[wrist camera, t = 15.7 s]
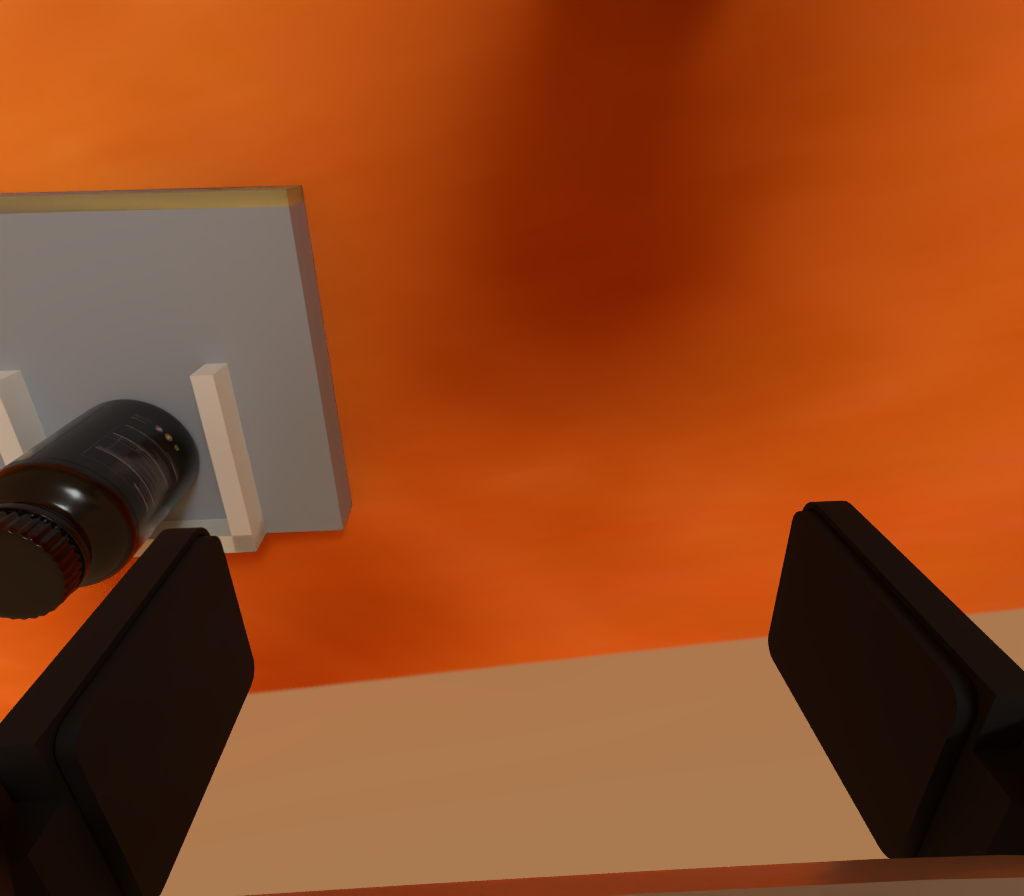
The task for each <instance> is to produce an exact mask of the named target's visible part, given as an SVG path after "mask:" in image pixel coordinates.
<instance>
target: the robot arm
mask: <svg viewBox="0 0 1024 896" xmlns="http://www.w3.org/2000/svg"><path fill="white" fill-rule="evenodd" d="M768 644H769V650H770V654H771V657H772V659H773V661H774V663H775V664H776V666H777V668H778V670H779V672H780V673H781V675H782V677H783V678H784V680H785V682H786V684H787V686H788V687H789V689H790V691H791V693H792V694H793V696H794V698H795V700H796V702H797V703H798V705H799V707H800V709H801V710H802V712H803V713H804V716H805V717H806V719H807V721H808V723H809V724H810V726H811V728H812V730H813V731H814V733H815V735H816V737H817V739H818V740H819V742H820V744H821V746H822V747H823V749H824V751H825V753H826V754H827V756H828V758H829V760H830V761H831V763H832V765H833V767H834V769H835V770H836V772H837V774H838V776H839V777H840V779H841V781H842V783H843V784H844V786H845V788H846V790H847V791H848V793H849V795H850V797H851V798H852V800H853V802H854V804H855V806H856V807H857V809H858V811H859V812H860V814H861V816H862V818H863V820H864V821H865V823H866V825H867V827H868V828H869V830H870V832H871V834H872V836H873V837H874V839H875V840H876V843H877V844H878V846H879V848H880V849H881V850H882V852H883V853H884V854H885V855H886V856H887V857H888V858H890V859H871V860H851V861H832V862H831V861H830V862H811V863H792V864H776V865H775V864H773V865H754V866H735V867H716V868H698V869H697V868H696V869H678V870H659V871H642V872H624V873H608V874H590V875H573V876H555V877H538V878H520V879H504V880H487V881H469V882H452V883H435V884H419V885H403V886H387V887H373V888H356V889H340V890H324V891H309V892H293V893H279V894H278V893H277V894H262V895H246V896H1024V671H1023V670H1022V669H1021V668H1020V667H1019V666H1018V665H1017V664H1016V663H1015V662H1014V661H1013V660H1012V659H1011V658H1010V657H1009V656H1008V655H1007V654H1006V653H1004V652H1003V651H1002V650H1001V649H1000V648H999V647H998V646H997V645H996V644H995V643H994V642H993V641H992V640H991V639H990V638H989V637H988V636H987V635H986V634H985V633H984V632H983V631H982V630H981V629H980V628H979V627H977V625H976V624H974V623H973V622H972V621H971V620H970V619H969V618H968V617H967V616H966V615H965V614H964V613H963V612H962V611H961V610H960V609H959V608H958V607H957V606H956V605H955V604H954V603H953V602H952V601H951V600H950V599H949V598H948V597H947V596H945V595H944V594H943V593H942V592H941V591H940V590H939V589H938V588H937V587H936V586H935V585H934V584H933V583H932V582H931V581H930V580H929V579H928V578H927V577H926V576H925V575H924V574H923V573H922V572H921V571H920V570H919V569H918V568H917V567H915V566H914V565H913V564H912V563H911V562H910V561H909V560H908V559H907V558H906V557H905V556H904V555H903V554H902V553H901V552H900V551H899V550H898V549H897V548H896V547H895V546H894V545H893V544H892V543H891V542H890V541H889V540H888V539H886V538H885V537H884V536H883V535H882V534H881V533H880V532H879V531H878V530H877V529H876V528H875V527H874V526H873V525H872V524H871V523H870V522H869V521H868V520H867V519H866V518H865V517H864V516H863V515H862V514H861V513H860V512H859V511H858V510H856V509H855V508H854V507H853V506H852V505H851V504H850V503H848V502H847V501H824V502H809V503H808V504H806V505H805V507H804V508H803V511H798V512H796V513H795V515H794V517H793V520H792V525H791V529H790V534H789V539H788V544H787V549H786V554H785V558H784V563H783V568H782V573H781V578H780V582H779V587H778V592H777V597H776V602H775V607H774V611H773V616H772V621H771V626H770V631H769V636H768ZM253 677H254V660H253V656H252V652H251V649H250V645H249V641H248V638H247V634H246V630H245V627H244V623H243V619H242V616H241V612H240V608H239V605H238V601H237V597H236V594H235V590H234V586H233V583H232V579H231V575H230V572H229V568H228V564H227V561H226V557H225V553H224V550H223V546H222V543H221V540H220V539H219V537H217V536H210V533H209V532H208V531H207V529H205V528H203V527H194V528H169V529H164V530H163V531H162V532H161V533H160V534H159V535H158V536H157V537H156V538H155V540H154V541H153V542H152V543H151V544H150V545H149V547H148V548H147V549H146V550H145V551H144V553H143V554H142V555H141V556H140V557H139V559H138V560H137V561H136V562H135V563H134V565H133V566H132V567H131V568H130V569H129V570H128V572H127V573H126V574H125V575H124V576H123V578H122V579H121V580H120V581H119V582H118V584H117V585H116V586H115V587H114V588H113V590H112V591H111V592H110V593H109V594H108V595H107V597H106V598H105V599H104V600H103V601H102V603H101V604H100V605H99V606H98V607H97V609H96V610H95V611H94V612H93V613H92V615H91V616H90V617H89V618H88V619H87V620H86V622H85V623H84V624H83V625H82V626H81V628H80V629H79V630H78V631H77V632H76V634H75V635H74V636H73V637H72V638H71V640H70V641H69V642H68V643H67V644H66V646H65V647H64V648H63V649H62V650H61V651H60V653H59V654H58V655H57V656H56V657H55V659H54V660H53V661H52V662H51V663H50V665H49V666H48V667H47V668H46V669H45V671H44V672H43V673H42V674H41V675H40V676H39V678H38V679H37V680H36V681H35V682H34V684H33V685H32V686H31V687H30V688H29V690H28V691H27V692H26V693H25V694H24V696H23V697H22V698H21V699H20V700H19V701H18V703H17V704H16V705H15V706H14V707H13V709H12V710H11V711H10V712H9V713H8V715H7V716H6V717H5V718H4V719H3V721H2V722H1V723H0V896H159V895H160V894H161V892H162V890H163V888H164V886H165V883H166V881H167V879H168V877H169V874H170V872H171V870H172V867H173V865H174V863H175V861H176V858H177V856H178V854H179V851H180V849H181V847H182V844H183V842H184V840H185V837H186V835H187V833H188V830H189V828H190V826H191V824H192V821H193V819H194V817H195V814H196V812H197V810H198V807H199V805H200V802H201V800H202V798H203V796H204V793H205V791H206V789H207V786H208V784H209V782H210V779H211V777H212V775H213V772H214V770H215V768H216V766H217V763H218V761H219V759H220V756H221V754H222V752H223V749H224V747H225V745H226V742H227V740H228V738H229V735H230V733H231V731H232V728H233V726H234V724H235V722H236V719H237V717H238V715H239V712H240V710H241V708H242V705H243V703H244V701H245V698H246V696H247V694H248V691H249V689H250V687H251V684H252V681H253Z"/></svg>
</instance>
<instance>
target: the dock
mask: <svg viewBox="0 0 1024 896" xmlns="http://www.w3.org/2000/svg"><path fill="white" fill-rule="evenodd" d="M117 399H132V400H139V401H143V402H147V403H150V404H153V405H155V406H158V407H160V408H162V409H164V410H165V411H167V412H168V413H170V414H171V415H173V416H174V417H175V418H176V419H178V420H179V421H180V422H181V423H182V424H183V425H184V427H185V428H186V429H187V430H188V432H189V433H190V435H191V437H192V438H193V440H194V443H195V445H196V448H197V452H198V459H199V465H198V471H197V475H196V478H195V480H194V482H193V483H192V485H191V487H190V488H189V489H188V490H187V492H186V493H185V494H184V496H183V497H182V498H181V499H180V501H179V502H178V503H177V504H176V505H175V507H174V508H173V509H172V510H171V511H170V513H169V514H168V515H167V516H166V518H165V519H164V520H163V521H162V522H161V524H160V525H159V526H158V527H157V528H156V530H155V531H154V532H153V533H152V534H151V536H150V537H149V538H148V539H147V541H146V542H145V543H144V544H143V545H142V547H141V548H140V549H139V550H138V551H137V553H136V554H135V555H134V556H133V557H140V556H141V555H142V554H143V553H144V551H145V550H146V549H147V548H148V547H149V545H150V544H151V543H152V542H153V541H154V540H155V538H156V537H157V536H158V535H159V534H160V533H161V532H162V531H163V530H164V529H169V528H194V527H203V528H205V529H207V531H208V532H209V533H210V536H217V537H219V539H220V540H221V543H222V546H223V550H224V553H239V552H256V551H257V549H258V548H259V546H260V544H261V542H262V540H263V539H264V537H265V535H266V533H284V532H308V531H332V530H343V529H344V526H345V523H346V520H347V518H348V515H349V512H350V510H351V507H352V502H351V496H350V490H349V483H348V477H347V471H346V464H345V458H344V451H343V445H342V439H341V432H340V426H339V420H338V413H337V407H336V400H335V394H334V388H333V381H332V375H331V369H330V362H329V356H328V350H327V343H326V337H325V330H324V324H323V318H322V311H321V305H320V299H319V292H318V286H317V279H316V273H315V267H314V260H313V254H312V248H311V241H310V235H309V228H308V222H307V216H306V209H305V203H304V197H303V190H302V186H265V187H227V188H189V189H150V190H112V191H74V192H35V193H0V470H1V469H2V468H4V467H5V466H6V465H8V464H9V463H11V462H12V461H14V460H15V459H17V458H18V457H20V456H21V455H22V454H24V453H25V452H27V451H28V450H30V449H31V448H33V447H34V446H36V445H37V444H39V443H40V442H42V441H43V440H44V439H46V438H47V437H49V436H50V435H52V434H53V433H55V432H56V431H58V430H59V429H61V428H62V427H64V426H65V425H66V424H68V423H69V422H71V421H72V420H74V419H75V418H77V417H78V416H80V415H81V414H83V413H84V412H86V411H87V410H89V409H91V408H92V407H94V406H96V405H98V404H101V403H103V402H106V401H110V400H117Z"/></svg>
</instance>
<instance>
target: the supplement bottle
mask: <svg viewBox="0 0 1024 896" xmlns="http://www.w3.org/2000/svg"><path fill="white" fill-rule="evenodd" d="M198 465H199V459H198V452H197V448H196V445H195V443H194V440H193V438H192V437H191V435H190V433H189V432H188V430H187V429H186V428H185V427H184V425H183V424H182V423H181V422H180V421H179V420H178V419H176V418H175V417H174V416H173V415H171V414H170V413H168V412H167V411H165V410H164V409H162V408H160V407H158V406H155V405H153V404H150V403H147V402H143V401H139V400H132V399H117V400H110V401H106V402H103V403H101V404H98V405H96V406H94V407H92V408H91V409H89V410H87V411H86V412H84V413H83V414H81V415H80V416H78V417H77V418H75V419H74V420H72V421H71V422H69V423H68V424H66V425H65V426H64V427H62V428H61V429H59V430H58V431H56V432H55V433H53V434H52V435H50V436H49V437H47V438H46V439H44V440H43V441H42V442H40V443H39V444H37V445H36V446H34V447H33V448H31V449H30V450H28V451H27V452H25V453H24V454H22V455H21V456H20V457H18V458H17V459H15V460H14V461H12V462H11V463H9V464H8V465H6V466H5V467H4V468H2V469H1V470H0V617H1V618H10V619H23V620H25V619H28V618H37V617H39V616H45V615H46V614H48V613H49V612H51V611H54V610H55V609H56V608H57V607H58V606H59V605H60V604H62V603H63V602H64V601H65V600H66V598H67V597H68V596H69V595H70V594H71V593H73V592H74V591H75V590H76V589H77V588H79V587H85V586H89V585H93V584H96V583H99V582H102V581H104V580H106V579H108V578H110V577H112V576H113V575H115V574H116V573H118V572H119V571H120V570H121V569H122V568H123V567H124V566H125V565H126V564H127V563H128V562H129V561H130V560H131V559H132V557H133V556H134V555H135V554H136V553H137V551H138V550H139V549H140V548H141V547H142V545H143V544H144V543H145V542H146V541H147V539H148V538H149V537H150V536H151V534H152V533H153V532H154V531H155V530H156V528H157V527H158V526H159V525H160V524H161V522H162V521H163V520H164V519H165V518H166V516H167V515H168V514H169V513H170V511H171V510H172V509H173V508H174V507H175V505H176V504H177V503H178V502H179V501H180V499H181V498H182V497H183V496H184V494H185V493H186V492H187V490H188V489H189V488H190V487H191V485H192V483H193V482H194V480H195V478H196V475H197V471H198Z"/></svg>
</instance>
